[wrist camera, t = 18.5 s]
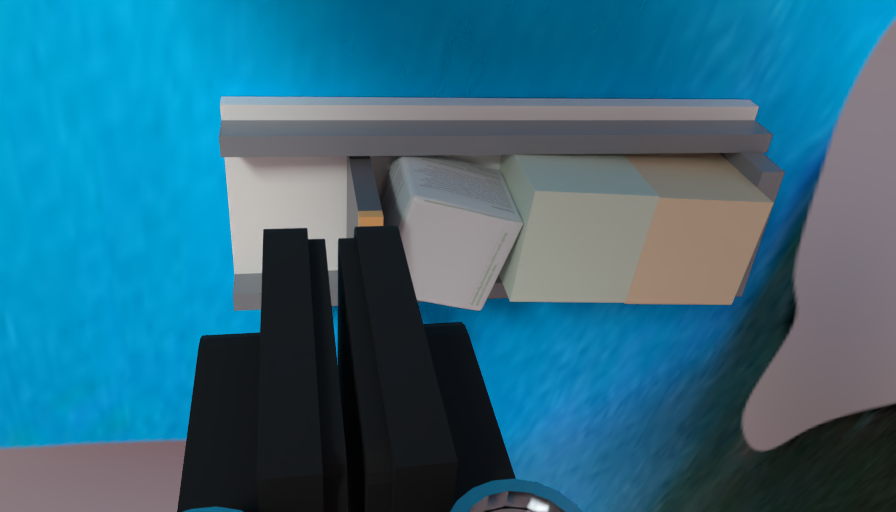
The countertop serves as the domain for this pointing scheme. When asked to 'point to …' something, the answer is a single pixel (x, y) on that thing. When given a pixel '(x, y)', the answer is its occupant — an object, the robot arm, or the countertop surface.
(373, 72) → the countertop surface
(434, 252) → the small box
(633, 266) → the sage box
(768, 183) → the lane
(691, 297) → the kraft box
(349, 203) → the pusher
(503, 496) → the robot arm
